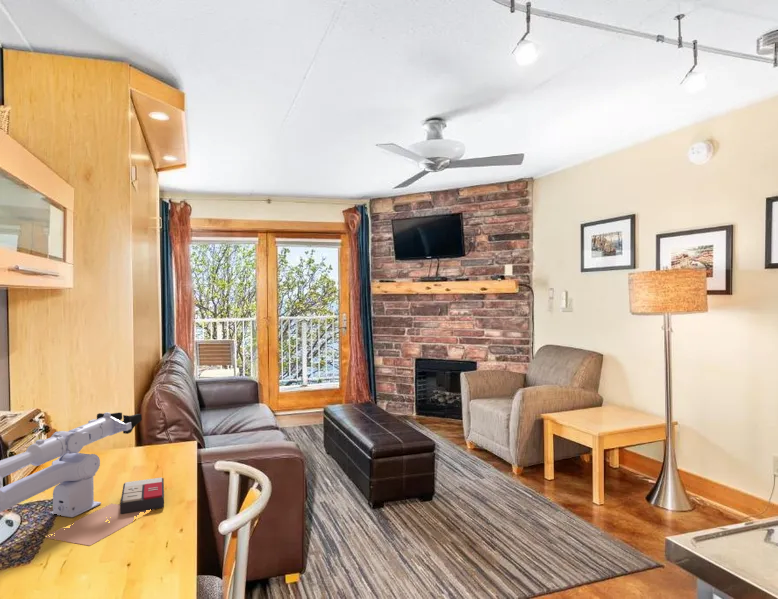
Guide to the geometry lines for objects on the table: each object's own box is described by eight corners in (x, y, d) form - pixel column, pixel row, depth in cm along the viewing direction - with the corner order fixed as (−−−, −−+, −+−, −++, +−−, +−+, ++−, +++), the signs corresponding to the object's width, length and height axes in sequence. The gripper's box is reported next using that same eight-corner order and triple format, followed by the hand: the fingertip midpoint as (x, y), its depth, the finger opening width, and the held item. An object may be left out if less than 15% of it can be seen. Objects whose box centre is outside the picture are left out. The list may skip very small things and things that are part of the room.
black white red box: (120, 501, 137) (123, 480, 151) (120, 516, 137) (123, 494, 151) (164, 494, 142) (163, 475, 155) (164, 509, 142) (163, 488, 156)
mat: (89, 547, 120) (89, 545, 120) (42, 539, 125) (42, 537, 125) (154, 511, 140) (154, 509, 140) (111, 505, 145) (111, 503, 145)
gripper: (113, 419, 145) (148, 405, 158) (74, 416, 149) (111, 402, 162) (115, 443, 145) (150, 427, 158) (76, 439, 149) (113, 424, 162)
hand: (130, 416), depth 160 cm, fingers open, 7 cm apart
